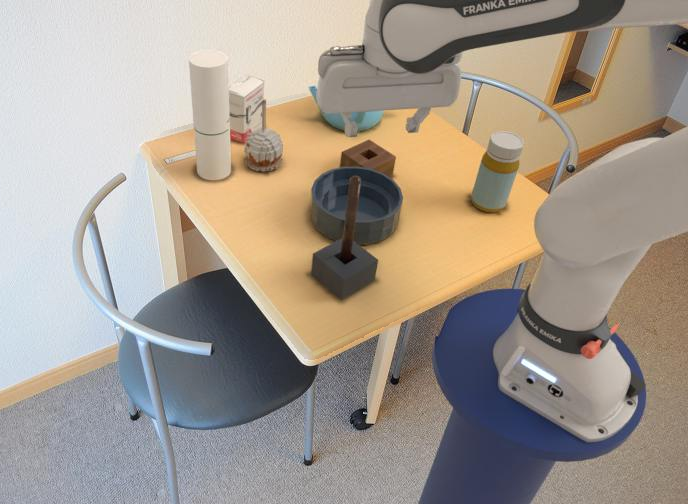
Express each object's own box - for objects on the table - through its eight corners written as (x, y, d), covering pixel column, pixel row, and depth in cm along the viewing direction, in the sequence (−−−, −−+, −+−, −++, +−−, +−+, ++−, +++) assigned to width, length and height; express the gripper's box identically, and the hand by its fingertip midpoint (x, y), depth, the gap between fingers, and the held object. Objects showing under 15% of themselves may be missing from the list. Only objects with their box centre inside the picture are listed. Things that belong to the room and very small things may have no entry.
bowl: (416, 223, 127) (421, 198, 123) (351, 259, 119) (355, 234, 115) (355, 180, 137) (358, 156, 133) (291, 211, 129) (293, 187, 125)
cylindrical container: (235, 163, 140) (232, 52, 123) (225, 182, 135) (221, 69, 117) (203, 158, 141) (196, 47, 124) (192, 177, 136) (183, 64, 118)
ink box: (244, 144, 145) (243, 96, 137) (225, 137, 147) (223, 89, 139) (264, 126, 151) (265, 79, 142) (246, 120, 152) (245, 73, 144)
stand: (374, 280, 116) (378, 259, 112) (341, 300, 112) (344, 279, 108) (344, 255, 120) (346, 235, 117) (310, 274, 116) (312, 253, 113)
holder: (392, 176, 138) (396, 156, 135) (365, 190, 135) (368, 170, 131) (366, 158, 143) (369, 139, 139) (339, 171, 139) (341, 151, 136)
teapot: (371, 145, 147) (377, 100, 139) (304, 121, 153) (307, 77, 145) (399, 115, 156) (407, 72, 149) (336, 94, 163) (340, 51, 155)
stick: (350, 278, 116) (364, 177, 101) (342, 282, 115) (355, 181, 100) (343, 272, 117) (356, 171, 102) (335, 276, 116) (347, 175, 101)
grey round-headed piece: (258, 148, 144) (258, 86, 134) (288, 160, 141) (291, 97, 131) (238, 165, 139) (236, 102, 129) (269, 177, 136) (270, 114, 126)
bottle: (474, 189, 136) (493, 126, 126) (508, 199, 134) (529, 136, 124) (466, 207, 132) (484, 143, 121) (500, 218, 130) (522, 154, 119)
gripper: (324, 58, 84) (317, 149, 94) (474, 51, 87) (452, 140, 97) (314, 36, 89) (308, 125, 98) (457, 31, 92) (438, 117, 101)
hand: (381, 132), depth 98 cm, fingers open, 8 cm apart
